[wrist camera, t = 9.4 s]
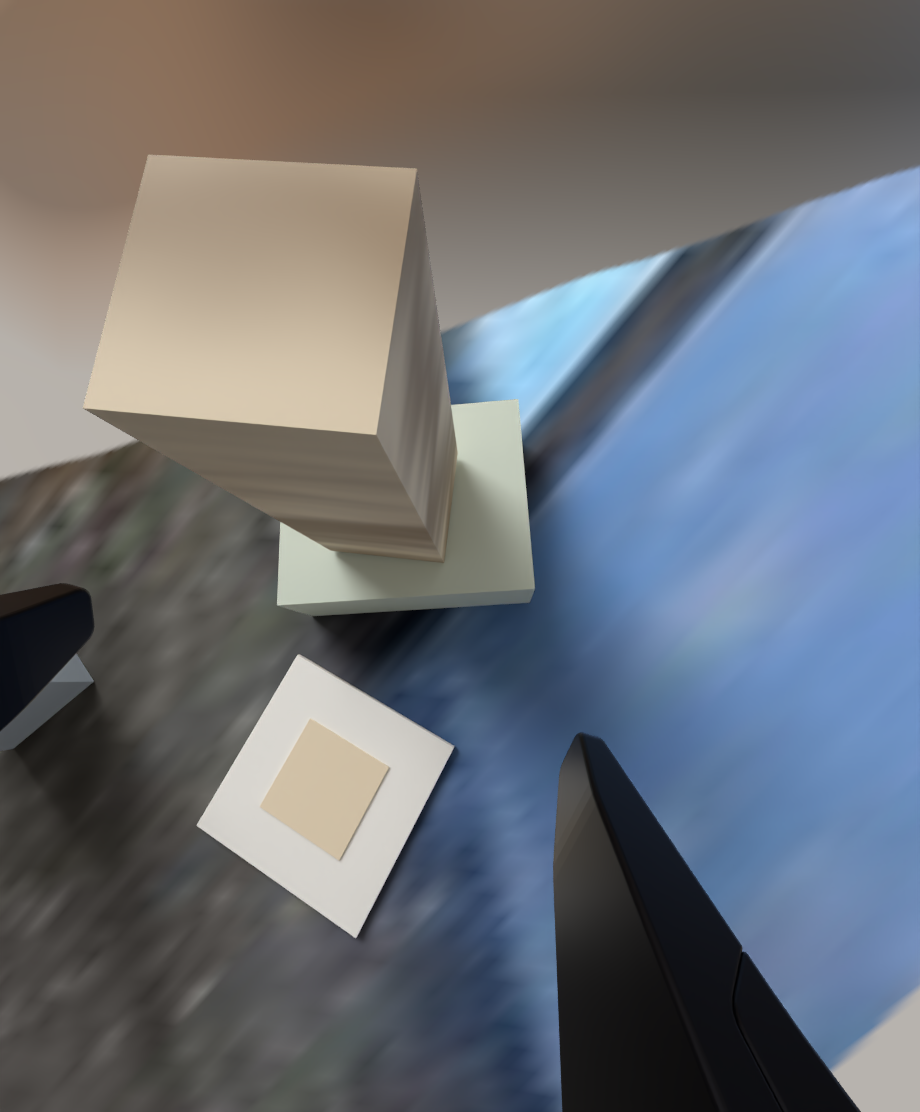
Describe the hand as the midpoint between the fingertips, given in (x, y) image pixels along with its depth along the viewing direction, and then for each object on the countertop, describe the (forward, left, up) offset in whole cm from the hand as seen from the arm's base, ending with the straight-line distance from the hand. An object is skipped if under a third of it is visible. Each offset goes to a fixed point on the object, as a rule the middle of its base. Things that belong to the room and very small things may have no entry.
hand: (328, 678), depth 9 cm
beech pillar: (+4, +6, -9) cm, 12 cm away
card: (-6, 0, -13) cm, 15 cm away
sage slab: (+4, +6, -14) cm, 15 cm away
